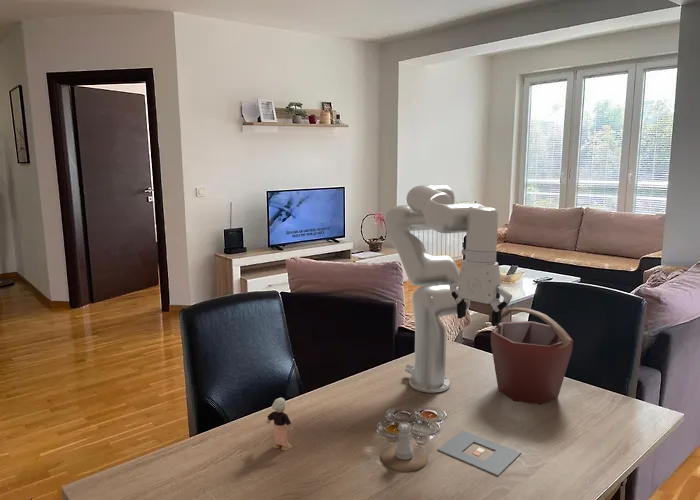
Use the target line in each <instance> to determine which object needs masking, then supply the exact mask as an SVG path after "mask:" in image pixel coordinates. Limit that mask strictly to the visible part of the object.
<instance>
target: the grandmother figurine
mask: <svg viewBox="0 0 700 500" xmlns="http://www.w3.org/2000/svg"><path fill="white" fill-rule="evenodd" d="M271 409H272V410H274V411H271V412H270V413H269V414H268V415H267V419H266V421H265V422H266V424H268V425H269V424H271V421H273V423H274V424H273V425H274V426H273V437H274V444H273V449H280V450H282V452H283V451H288V450H291V449H292V448H293V447H292V444H290V443H289V441H288V432H289V433H291V432H292V431H293V430H294V429H293V427H292V422H291V420H290V418H289V416H288V414H287V413H286V412H284V411H285V409H286V400H285V398H284V397H279V398H276V399H274V401H273V403H272V405H271ZM287 430H288V431H287Z"/></svg>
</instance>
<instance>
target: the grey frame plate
mask: <svg viewBox="0 0 700 500" xmlns="http://www.w3.org/2000/svg"><path fill="white" fill-rule="evenodd" d="M473 444H477V445H479V446H482V447H483V448H481V447H478V448H477V449H476V450H475V451H473V452H472V455H470V454H468V453H466V452H464V451H465V450H467V449H468V448H469V447H470V446H472V445H473ZM485 448H487V449H489V450H492V451H493V453H491V454H490V455H489V456H488V457H487V458H486V459H485V460H483V459H481V458H478V457H479V456H480V455H481V454H482V453H484V452H485V451H486V449H485ZM436 451H438V452H440V453H443V454H445V455H446V456H447V455H448V456H449V457H452V458H455V459H457V460H460V461H462V462H464V463H465V464H469V465H471V466H473V467H475V468H478V469H480V470H483V471H484V472H487V473H489V474H492V475H494V476H497V477H499V476H500V475H501V474H502V473H503V472H504V471H505V470H506V469H508V467H509V466H510V465H511V464H512V463H513V462H514V461H516V459H517V458H519V457H520V455H522V452H521V451H518V450H516V449H512V448H510V447H508V446H505V445H502V444H500V443H497V442H494V441H492V440H489V439H487V438H484V437H481V436H479V435H477V434H474V433H471V432H468V431H465V430H463V429H462V430H460V431H458V432H457V433H456V434H455V435H454V436H453V437H451V438H450V439H448V440H447V441H446V442H444V443H443V444H442V445H441V446H439V447H438V448H437V450H436ZM474 455H475V456H477V457H475V456H474Z"/></svg>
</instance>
